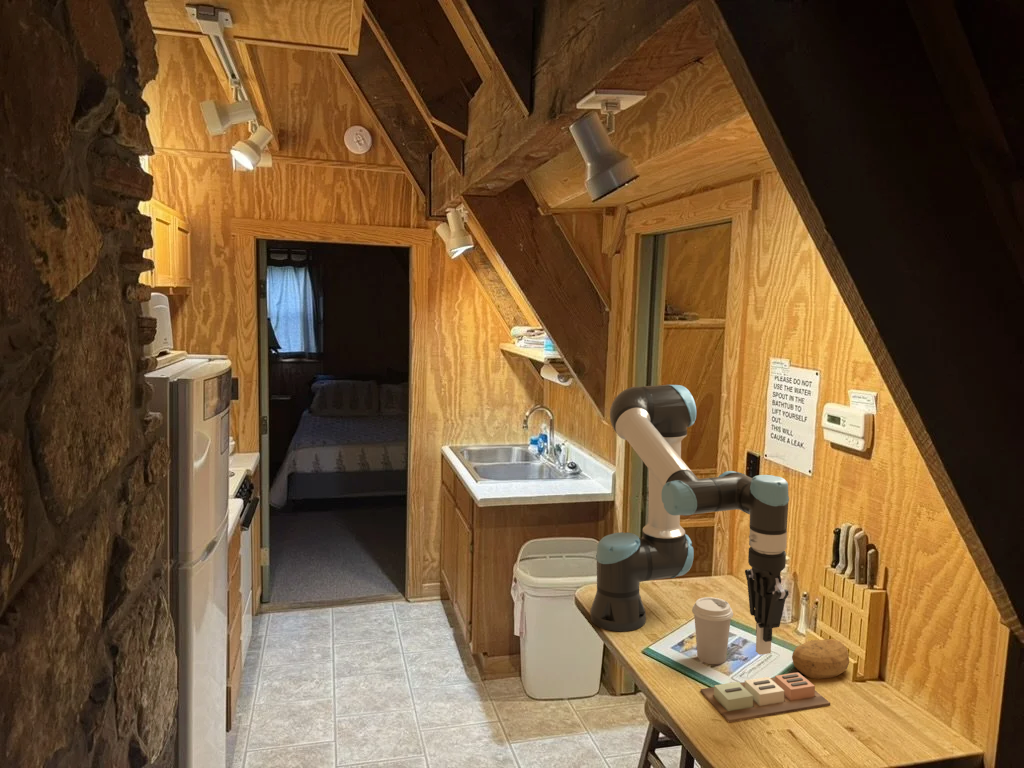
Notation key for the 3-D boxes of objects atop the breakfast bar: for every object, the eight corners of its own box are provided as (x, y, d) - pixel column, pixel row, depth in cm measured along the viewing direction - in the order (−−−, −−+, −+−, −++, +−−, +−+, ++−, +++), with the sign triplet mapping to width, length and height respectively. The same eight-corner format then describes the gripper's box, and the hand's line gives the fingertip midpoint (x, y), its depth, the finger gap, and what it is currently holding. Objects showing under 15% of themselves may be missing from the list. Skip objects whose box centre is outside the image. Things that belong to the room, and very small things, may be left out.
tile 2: (744, 697, 157) (745, 679, 156) (768, 693, 158) (768, 675, 158) (759, 712, 151) (760, 693, 151) (783, 708, 152) (784, 689, 152)
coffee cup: (734, 674, 167) (735, 614, 165) (692, 671, 169) (693, 611, 167) (730, 654, 176) (731, 597, 174) (690, 651, 178) (691, 594, 176)
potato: (779, 671, 168) (780, 639, 167) (828, 661, 172) (829, 630, 171) (808, 692, 159) (809, 658, 158) (859, 681, 163) (860, 648, 162)
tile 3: (774, 692, 158) (775, 674, 158) (797, 688, 160) (798, 670, 159) (790, 707, 153) (791, 688, 152) (814, 703, 154) (814, 684, 154)
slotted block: (713, 702, 155) (714, 684, 154) (737, 698, 156) (738, 680, 156) (727, 717, 149) (728, 698, 149) (752, 713, 151) (753, 694, 150)
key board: (700, 697, 158) (700, 689, 157) (795, 682, 163) (795, 674, 163) (728, 729, 146) (728, 720, 146) (830, 711, 152) (830, 702, 151)
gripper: (735, 539, 157) (731, 640, 160) (769, 561, 144) (765, 670, 147) (765, 536, 158) (761, 636, 162) (801, 557, 146) (796, 665, 149)
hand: (763, 652), depth 155 cm, fingers closed
